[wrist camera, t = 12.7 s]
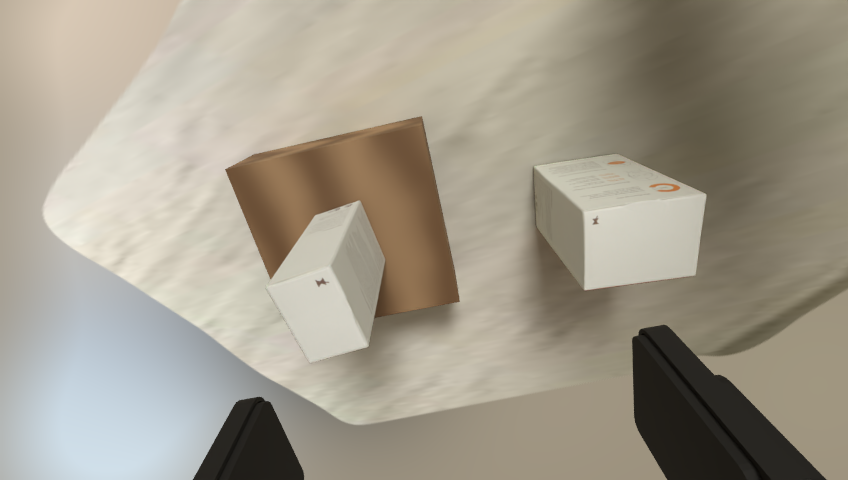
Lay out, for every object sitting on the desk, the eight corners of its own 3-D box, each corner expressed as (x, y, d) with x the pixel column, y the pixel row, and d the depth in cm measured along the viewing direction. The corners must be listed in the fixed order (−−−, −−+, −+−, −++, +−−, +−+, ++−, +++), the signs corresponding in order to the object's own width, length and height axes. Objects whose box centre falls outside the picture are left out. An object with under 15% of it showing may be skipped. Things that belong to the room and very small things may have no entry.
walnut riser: (421, 116, 37) (421, 125, 31) (454, 271, 43) (459, 301, 37) (253, 154, 38) (225, 169, 33) (309, 299, 44) (292, 333, 39)
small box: (535, 227, 41) (581, 293, 29) (532, 165, 39) (581, 209, 27) (617, 215, 41) (698, 278, 29) (619, 152, 38) (709, 191, 26)
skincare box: (313, 214, 34) (261, 285, 23) (360, 198, 34) (331, 262, 23) (342, 275, 36) (307, 366, 25) (387, 261, 36) (372, 348, 25)
